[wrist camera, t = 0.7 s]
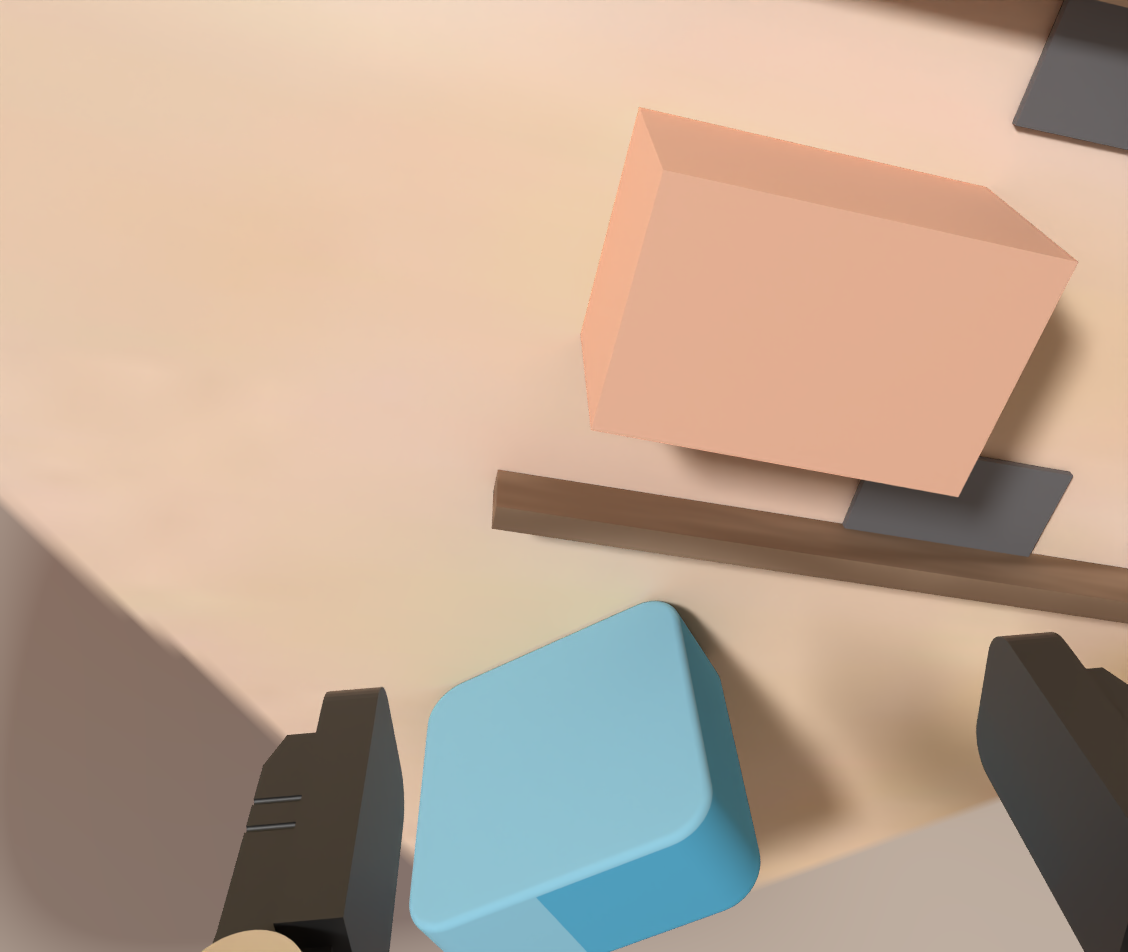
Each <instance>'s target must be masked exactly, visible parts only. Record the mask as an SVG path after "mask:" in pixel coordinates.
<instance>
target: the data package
mask: <svg viewBox="0 0 1128 952" xmlns="http://www.w3.org/2000/svg"><path fill="white" fill-rule="evenodd" d="M759 870H760V853H759V848H758V844H757V839H756V835H755V831H754V826H753V822H752V817H751V813H750V808H749V804H748V800H747V795H746V791H745V786H744V782H743V778H742V773H741V769H740V764H739V760H738V755H737V751H736V747H735V742H734V738H733V733H732V729H731V724H730V720H729V716H728V711H727V707H726V702H725V698H724V693H723V689H722V685H721V680H720V677H719V675H718V673H717V672H716V670H715V669H714V667H713V666H712V664H711V663H710V661H709V660H708V658H707V656H706V655H705V653H704V652H703V650H702V649H701V647H700V646H699V644H698V643H697V641H696V640H695V638H694V637H693V635H692V633H691V632H690V630H689V629H688V627H687V626H686V624H685V623H684V621H683V620H682V618H681V617H680V615H679V614H678V612H677V611H676V609H675V608H674V607H672V606H671V605H669V604H668V603H665V602H661V601H649V602H644V603H641V604H638V605H636V606H634V607H631V608H629V609H627V610H625V611H622V612H620V613H618V614H616V615H613V616H611V617H609V618H607V619H604V620H602V621H600V622H598V623H596V624H593V625H591V626H589V627H587V628H584V629H582V630H580V631H578V632H575V633H573V634H571V635H569V636H566V637H564V638H562V639H560V640H557V641H555V642H553V643H551V644H548V645H546V646H544V647H542V648H539V649H537V650H535V651H533V652H531V653H528V654H526V655H524V656H522V657H519V658H517V659H515V660H513V661H510V662H508V663H506V664H504V665H501V666H499V667H497V668H495V669H492V670H490V671H488V672H486V673H483V674H481V675H479V676H477V677H474V678H472V679H470V680H468V681H466V682H463V683H461V684H459V685H457V686H456V687H454V688H452V689H451V690H450V691H448V692H447V693H446V694H445V695H444V696H443V697H442V698H441V699H440V700H439V701H438V703H437V704H436V706H435V707H434V709H433V711H432V713H431V715H430V718H429V721H428V729H427V739H426V748H425V758H424V767H423V777H422V787H421V796H420V806H419V816H418V825H417V835H416V844H415V854H414V864H413V874H412V883H411V892H410V904H409V907H410V914H411V917H412V920H413V922H414V923H415V925H416V926H417V927H418V928H419V929H420V930H421V931H422V932H423V933H425V934H426V935H427V936H428V937H429V938H430V939H431V940H432V941H433V942H434V943H435V944H436V945H437V946H438V947H439V948H441V949H442V950H443V951H444V952H610V951H614V950H616V949H619V948H622V947H625V946H627V945H630V944H633V943H636V942H638V941H641V940H644V939H647V938H649V937H652V936H655V935H658V934H661V933H663V932H666V931H669V930H672V929H675V928H677V927H680V926H683V925H686V924H688V923H691V922H694V921H696V920H699V919H702V918H705V917H708V916H711V915H713V914H716V913H719V912H722V911H725V910H727V909H729V908H731V907H733V906H735V905H736V904H738V903H739V902H740V901H741V900H742V899H744V898H745V897H746V895H747V894H748V893H749V892H750V890H751V889H752V888H753V886H754V884H755V882H756V880H757V877H758V874H759Z"/></svg>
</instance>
